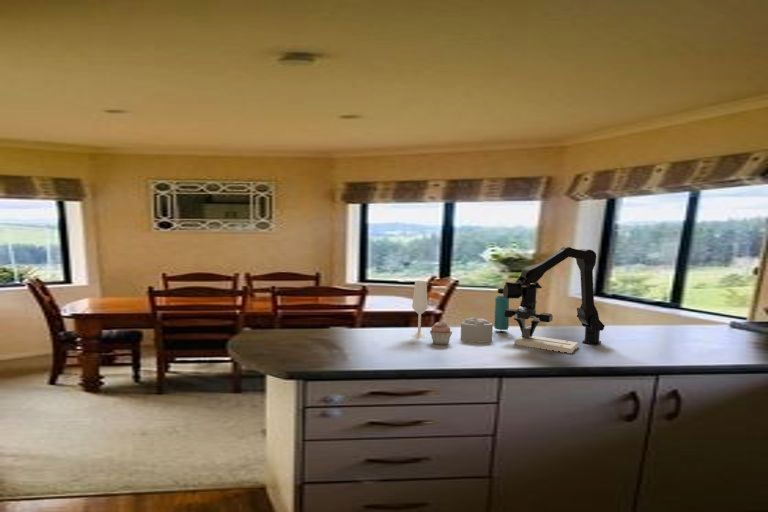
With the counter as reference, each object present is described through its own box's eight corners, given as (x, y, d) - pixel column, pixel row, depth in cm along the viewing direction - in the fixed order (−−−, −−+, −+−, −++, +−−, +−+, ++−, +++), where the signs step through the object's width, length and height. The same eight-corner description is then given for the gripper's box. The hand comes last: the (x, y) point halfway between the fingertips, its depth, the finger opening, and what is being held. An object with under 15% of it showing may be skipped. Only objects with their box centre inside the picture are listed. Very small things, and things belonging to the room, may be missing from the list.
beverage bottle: (508, 333, 213) (510, 289, 212) (493, 332, 215) (495, 289, 213) (508, 330, 220) (509, 288, 218) (493, 329, 221) (495, 287, 220)
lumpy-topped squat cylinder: (494, 341, 199) (495, 321, 198) (466, 342, 195) (467, 322, 195) (483, 335, 209) (483, 316, 208) (456, 337, 205) (456, 317, 204)
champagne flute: (427, 338, 201) (429, 282, 200) (411, 337, 201) (413, 282, 200) (426, 334, 208) (427, 280, 206) (411, 334, 208) (412, 280, 206)
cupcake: (427, 340, 198) (428, 316, 197) (449, 340, 198) (450, 317, 198) (431, 346, 188) (432, 321, 188) (454, 346, 189) (455, 321, 188)
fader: (525, 335, 200) (525, 325, 200) (532, 336, 198) (532, 326, 198) (521, 337, 196) (522, 327, 196) (528, 338, 194) (529, 328, 194)
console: (524, 338, 204) (524, 334, 204) (577, 347, 192) (578, 342, 192) (515, 344, 194) (515, 339, 194) (571, 353, 182) (571, 348, 182)
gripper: (500, 298, 195) (498, 335, 196) (546, 303, 184) (544, 343, 185) (509, 295, 204) (508, 331, 205) (553, 300, 193) (552, 337, 195)
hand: (527, 335), depth 197 cm, fingers closed on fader, 3 cm apart
